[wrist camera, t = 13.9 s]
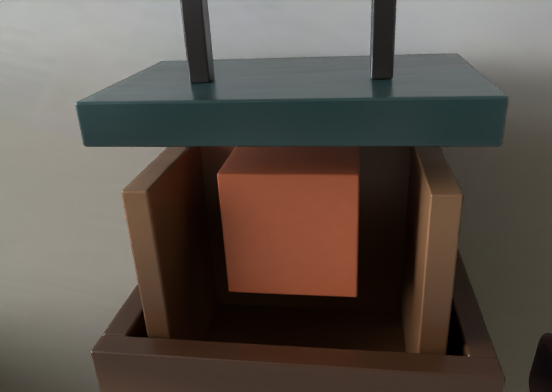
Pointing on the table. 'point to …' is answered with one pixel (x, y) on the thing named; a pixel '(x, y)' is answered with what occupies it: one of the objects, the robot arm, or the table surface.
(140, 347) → the cabinet
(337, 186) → the block
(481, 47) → the table surface
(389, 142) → the drawer
